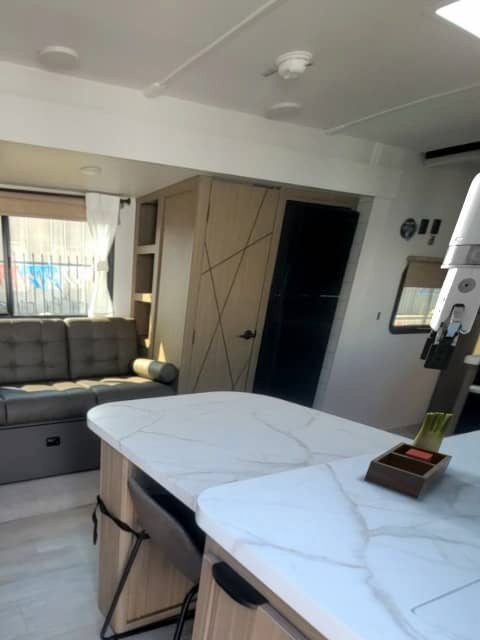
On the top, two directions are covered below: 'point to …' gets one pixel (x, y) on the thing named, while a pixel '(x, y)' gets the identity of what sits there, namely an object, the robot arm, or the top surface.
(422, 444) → the fennel bulb
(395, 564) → the top surface
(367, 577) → the top surface
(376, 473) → the tray
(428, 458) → the red block
